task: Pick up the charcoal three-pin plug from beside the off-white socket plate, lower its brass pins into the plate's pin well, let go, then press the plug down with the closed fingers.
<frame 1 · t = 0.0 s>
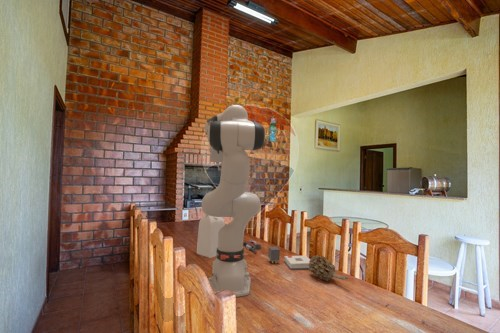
hand: (228, 170, 150), 48 cm above the table, tool pointing down, fingers open, 8 cm apart
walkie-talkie: (253, 249, 169), on the table
plug: (273, 262, 144), on the table
pine cone: (328, 282, 121), on the table
milk: (211, 253, 157), on the table
socket: (298, 265, 141), on the table
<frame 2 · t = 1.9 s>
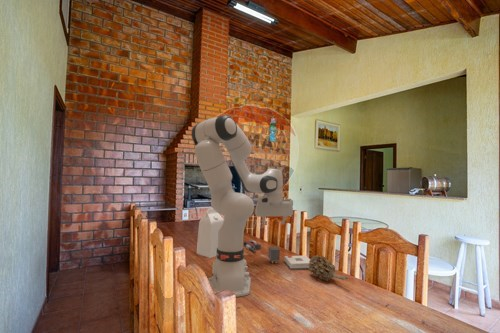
hand: (274, 224, 145), 20 cm above the table, tool pointing down, fingers open, 8 cm apart
nothing on the table moved.
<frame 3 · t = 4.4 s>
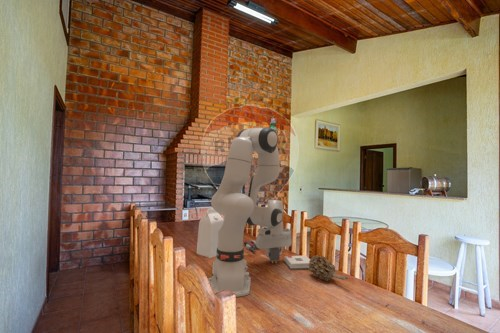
hand: (274, 255, 144), 4 cm above the table, tool pointing down, fingers closed on plug, 5 cm apart
plug: (273, 262, 144), on the table, touching gripper
everything else where it was.
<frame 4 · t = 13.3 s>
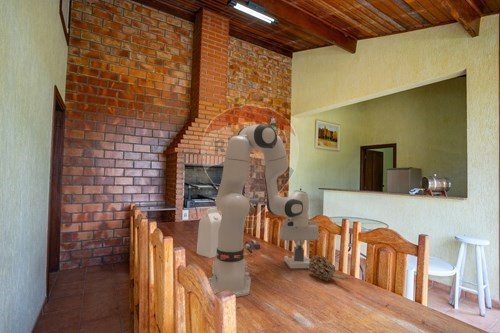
hand: (299, 248, 141), 9 cm above the table, tool pointing down, fingers closed, pressing on plug
plug: (298, 263, 141), point 1 cm above the table, touching gripper, socket
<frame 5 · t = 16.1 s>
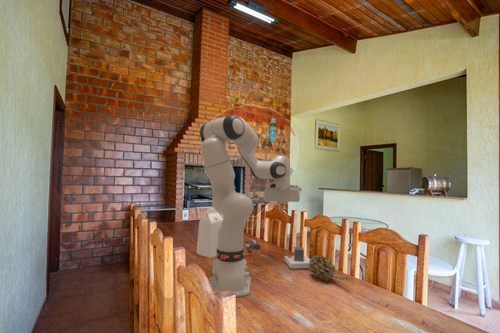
hand: (281, 209, 151), 27 cm above the table, tool pointing down, fingers closed
plug: (298, 263, 141), point 1 cm above the table, touching socket
at the end: plug 0.1 cm off-centre on the socket, point 1.0 cm above the socket's base; plug tilted 0°; the gripper is holding nothing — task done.
